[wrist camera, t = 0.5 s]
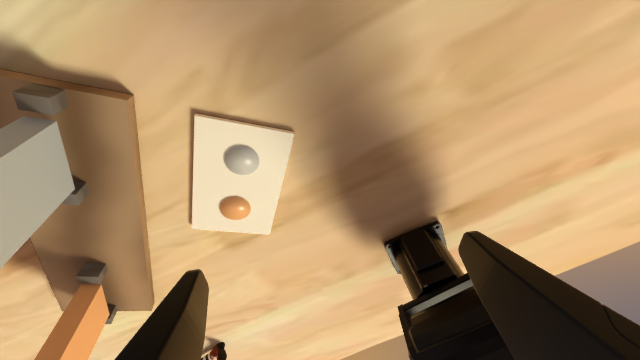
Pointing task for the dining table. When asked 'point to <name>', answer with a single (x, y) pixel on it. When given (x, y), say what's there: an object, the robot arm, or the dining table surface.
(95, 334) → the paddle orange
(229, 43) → the dining table surface
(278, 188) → the card
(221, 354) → the figurine
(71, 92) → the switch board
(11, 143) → the grey tall block
